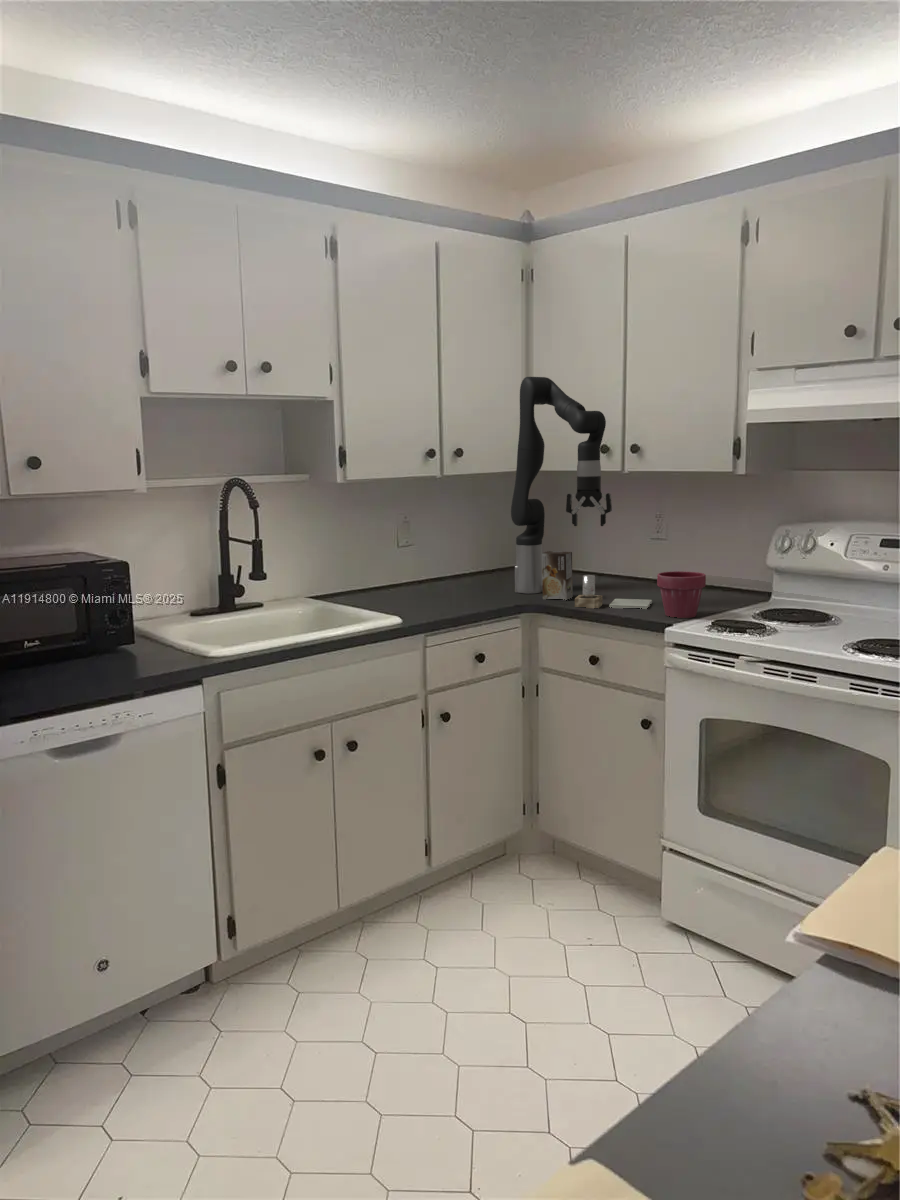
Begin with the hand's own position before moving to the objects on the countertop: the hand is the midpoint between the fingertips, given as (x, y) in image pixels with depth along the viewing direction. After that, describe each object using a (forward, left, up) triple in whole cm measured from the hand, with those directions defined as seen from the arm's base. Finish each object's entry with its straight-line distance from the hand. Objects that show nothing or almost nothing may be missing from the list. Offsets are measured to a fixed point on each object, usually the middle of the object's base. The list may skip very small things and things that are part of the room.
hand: (588, 526), depth 284 cm
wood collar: (0, 0, -26) cm, 26 cm away
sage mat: (+13, +4, -26) cm, 29 cm away
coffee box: (-13, +12, -26) cm, 32 cm away
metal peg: (0, 0, -26) cm, 26 cm away
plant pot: (+30, -10, -26) cm, 41 cm away
